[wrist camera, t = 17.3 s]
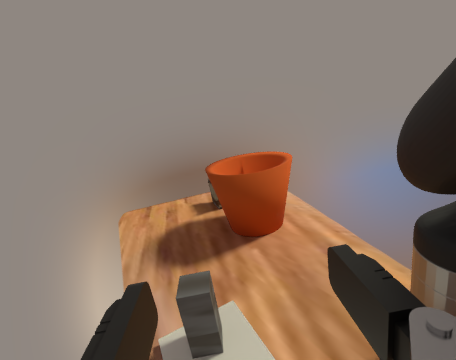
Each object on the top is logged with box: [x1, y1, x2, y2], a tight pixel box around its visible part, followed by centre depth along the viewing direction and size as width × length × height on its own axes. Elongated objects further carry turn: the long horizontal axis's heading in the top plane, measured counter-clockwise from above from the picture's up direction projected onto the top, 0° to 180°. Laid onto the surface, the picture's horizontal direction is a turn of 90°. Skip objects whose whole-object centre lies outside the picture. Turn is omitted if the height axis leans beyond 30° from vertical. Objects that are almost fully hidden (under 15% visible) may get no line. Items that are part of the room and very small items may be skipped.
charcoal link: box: [176, 271, 223, 359], centre depth 36 cm, size 5×5×11 cm
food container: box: [208, 178, 222, 209], centre depth 93 cm, size 12×6×10 cm, turn 20°
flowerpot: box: [205, 152, 292, 237], centre depth 72 cm, size 25×25×20 cm
